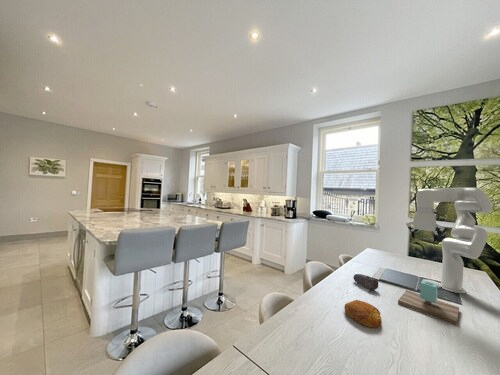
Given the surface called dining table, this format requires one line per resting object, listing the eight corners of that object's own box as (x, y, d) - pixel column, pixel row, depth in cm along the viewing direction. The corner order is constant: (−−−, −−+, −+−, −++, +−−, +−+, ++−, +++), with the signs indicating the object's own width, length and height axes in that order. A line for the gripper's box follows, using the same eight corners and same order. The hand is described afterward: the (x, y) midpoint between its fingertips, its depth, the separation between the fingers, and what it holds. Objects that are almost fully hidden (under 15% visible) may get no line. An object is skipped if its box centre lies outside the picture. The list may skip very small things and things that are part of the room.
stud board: (406, 293, 123) (407, 274, 123) (459, 311, 107) (460, 289, 107) (398, 303, 111) (399, 282, 111) (456, 325, 95) (457, 301, 95)
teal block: (422, 294, 113) (422, 279, 113) (436, 299, 109) (437, 283, 109) (419, 298, 109) (420, 282, 109) (435, 303, 105) (436, 286, 105)
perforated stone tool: (350, 281, 135) (351, 271, 135) (356, 280, 138) (356, 270, 138) (373, 292, 122) (374, 280, 122) (379, 291, 124) (379, 279, 124)
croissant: (368, 337, 87) (371, 320, 86) (338, 311, 101) (340, 296, 100) (389, 327, 93) (392, 311, 92) (358, 304, 107) (360, 290, 106)
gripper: (445, 211, 119) (444, 241, 119) (407, 208, 131) (407, 236, 132) (444, 212, 114) (443, 244, 114) (405, 209, 126) (404, 237, 126)
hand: (423, 239), depth 123 cm, fingers open, 9 cm apart
